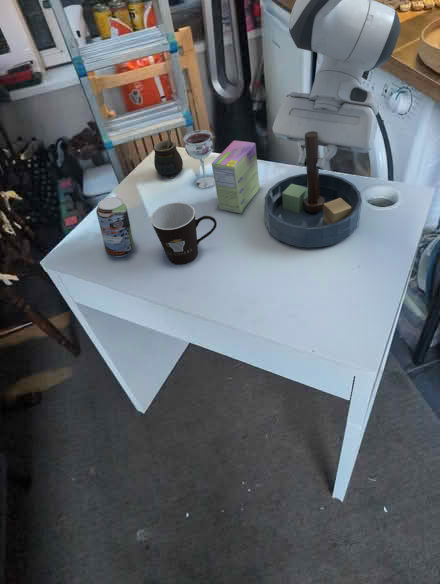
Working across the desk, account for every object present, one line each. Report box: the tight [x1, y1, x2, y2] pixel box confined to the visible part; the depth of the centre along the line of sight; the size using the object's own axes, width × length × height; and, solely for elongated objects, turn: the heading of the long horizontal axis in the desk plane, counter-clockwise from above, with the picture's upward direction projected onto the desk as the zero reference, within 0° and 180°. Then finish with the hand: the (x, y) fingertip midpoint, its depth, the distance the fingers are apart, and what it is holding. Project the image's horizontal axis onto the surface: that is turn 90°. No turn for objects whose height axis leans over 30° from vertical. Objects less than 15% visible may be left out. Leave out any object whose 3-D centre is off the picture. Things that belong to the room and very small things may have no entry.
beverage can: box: [95, 196, 135, 258], centre depth 89 cm, size 6×7×12 cm
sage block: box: [282, 184, 308, 213], centre depth 94 cm, size 4×4×4 cm
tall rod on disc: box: [303, 131, 325, 212], centre depth 87 cm, size 4×4×16 cm
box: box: [211, 140, 260, 214], centre depth 97 cm, size 10×6×12 cm, turn 152°
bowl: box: [263, 172, 363, 249], centre depth 90 cm, size 19×19×6 cm
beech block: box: [323, 198, 352, 225], centre depth 88 cm, size 4×4×4 cm
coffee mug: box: [150, 201, 218, 266], centre depth 86 cm, size 12×9×10 cm
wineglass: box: [182, 129, 215, 189], centre depth 103 cm, size 7×7×12 cm
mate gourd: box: [152, 129, 184, 179], centre depth 109 cm, size 7×8×10 cm
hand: (310, 166), depth 86 cm, fingers closed on tall rod on disc, 2 cm apart
